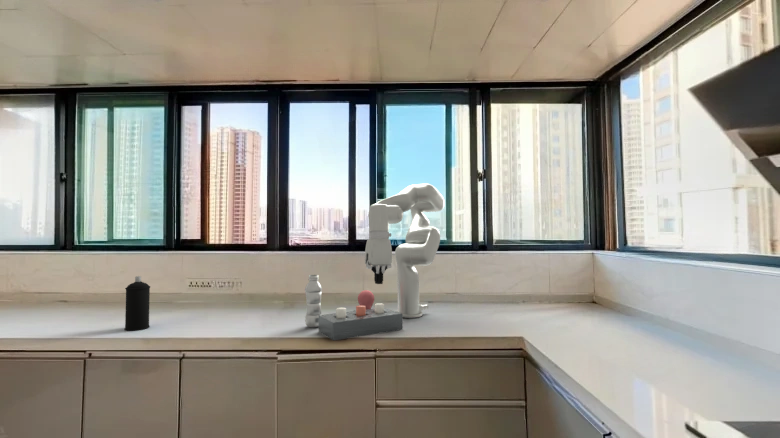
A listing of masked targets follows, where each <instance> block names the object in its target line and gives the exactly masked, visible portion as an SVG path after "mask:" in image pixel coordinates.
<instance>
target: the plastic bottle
mask: <svg viewBox="0 0 780 438" xmlns="http://www.w3.org/2000/svg"><path fill="white" fill-rule="evenodd" d="M319 276H320V275H319V274H310V275H308V283H307V284H306V286H305V289H304V291H305V298H306V310H305V313H306V314H305V316H304V317H305V319H304V323H305V326H307V327H309V328H316V327H318V328H319V315H323V314H322V305H321V302H322V294H323V293H322V292H323V288H322V287H323V286H322V285H321V283H320V282H319V280H320V278H319Z"/></svg>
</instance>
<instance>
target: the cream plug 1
mask: <svg viewBox="0 0 780 438" xmlns="http://www.w3.org/2000/svg"><path fill="white" fill-rule="evenodd" d="M346 312H347V307H337V308H335V313H336V318H337V319H340V318H346Z"/></svg>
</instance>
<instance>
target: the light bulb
mask: <svg viewBox="0 0 780 438" xmlns="http://www.w3.org/2000/svg"><path fill="white" fill-rule="evenodd" d="M357 301H358V306H360V305H363V306H366V310H367V309H372V306H373V304H374V302H375V294H373V292H372V291H371V290H368V289H365V290H364V289H363V290H362V291H361V292H360V293H358V296H357Z"/></svg>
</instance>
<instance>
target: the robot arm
mask: <svg viewBox="0 0 780 438" xmlns="http://www.w3.org/2000/svg"><path fill="white" fill-rule="evenodd" d="M444 198H445V197H444V196H443V195H442V194H441V193H440V191H439V190H438V189H437V188H436V187H435V186H434V185H433V184H430V183H418V184H411V185H408V186H407V187H404V189H402V190H401V191H400V192H399V193H397V194H394V195H392V196H389V197H386V198H384V199H381V200H379V201H377V202H376V203H373V204H371V205H369V211H368V219H369V220H368V221H369V224H368V225H369V226H368V227H369V230H368V231H369V234H368V235H369V236H368V237H369V238H368V239H367V240H366V244H365V250H364V264H365V268H366V269H368V270H371V271H372V273H373V274H374V277H373V278H374V283H375V284H376V285H383V283H384V274H385V272H386V270H388V269H390V268H392V263H393V248H392V244H391V239H389V238H390V237H392V233H391V232H390V231H389V230H390V227H389V226H390V225H392V224H393V225H394V224H399V223H401V222H402V220H403V219H404V212H408V211H410V214H411V218H412V219H411V223H410V225H409V228H408V230H407V232H406V235H405V243H401V244H399V245H398V246H397V247H396V248H395V251H394V256H395V262H396V268H397V269H396V270H397V271H396V272H397V310H396V312H399V313H402V319H403V318H404V319H405V318H406V319H407V318H408V319H411V318H415V319H416V318H420V317H422V316H423V311H424V310H428V309H429V305H428V304H420V275H419V272H418V270H417V268H416V266H421V267H423V266H425V267H427V266H430V265H431V264H433V262H434V260H435V257H436V255H437V252H438V249H439V247H440V243H441V233H440V231H439V229H438V228H437V227H435V226H430V224H431V223H430V220H429V219H428V217H427V216H426V215H425V214H424V213H438V212H441V211H443V210H444V208H445V199H444Z"/></svg>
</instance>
